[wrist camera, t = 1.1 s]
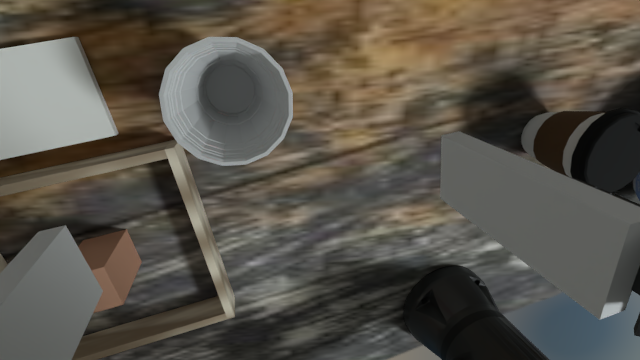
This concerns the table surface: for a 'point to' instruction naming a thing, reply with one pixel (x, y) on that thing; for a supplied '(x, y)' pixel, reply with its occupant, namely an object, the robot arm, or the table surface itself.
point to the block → (112, 266)
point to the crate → (220, 305)
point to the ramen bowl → (637, 185)
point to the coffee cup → (587, 145)
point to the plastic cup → (226, 101)
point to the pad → (49, 98)
